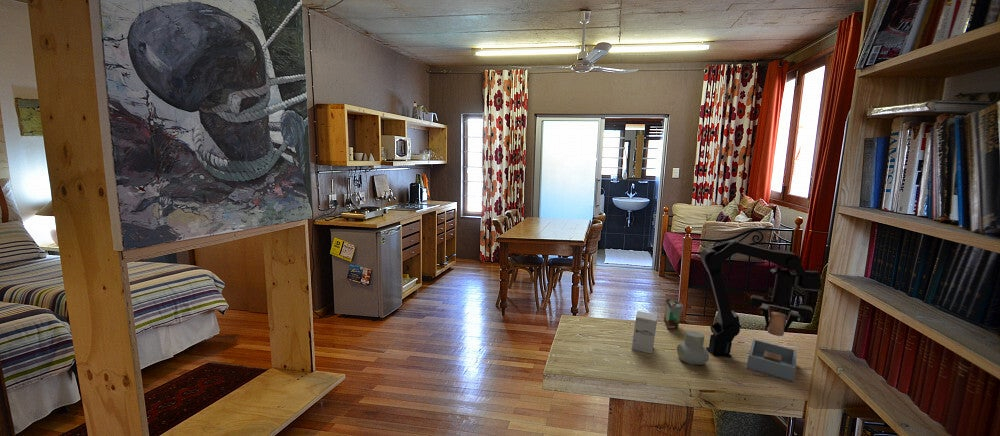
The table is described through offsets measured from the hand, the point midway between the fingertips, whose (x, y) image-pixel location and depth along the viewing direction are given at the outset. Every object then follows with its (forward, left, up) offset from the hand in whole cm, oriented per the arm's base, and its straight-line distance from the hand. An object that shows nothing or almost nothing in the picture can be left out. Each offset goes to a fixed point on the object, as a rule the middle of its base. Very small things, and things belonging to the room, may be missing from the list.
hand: (776, 329), depth 160 cm
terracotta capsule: (0, 0, -2) cm, 2 cm away
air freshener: (-31, -2, -12) cm, 33 cm away
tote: (-3, -4, -12) cm, 13 cm away
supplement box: (-45, +7, -12) cm, 47 cm away
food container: (-23, +29, -12) cm, 39 cm away
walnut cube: (-6, -8, -11) cm, 15 cm away
